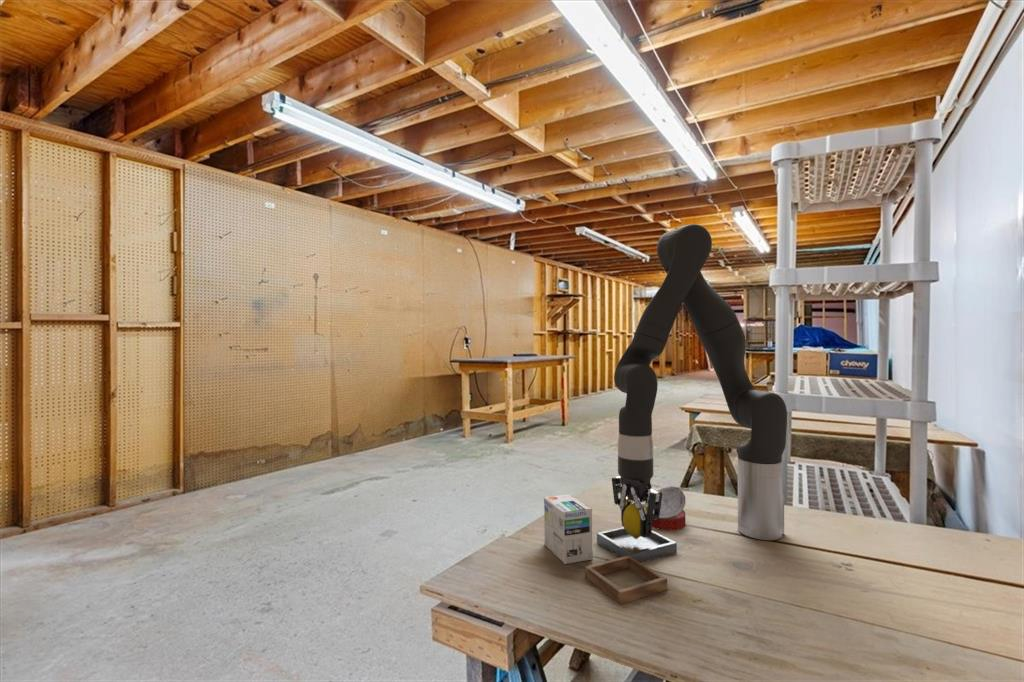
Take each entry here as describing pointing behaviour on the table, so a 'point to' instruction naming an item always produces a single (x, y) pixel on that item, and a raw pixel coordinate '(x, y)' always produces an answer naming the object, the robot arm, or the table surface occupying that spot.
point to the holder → (631, 593)
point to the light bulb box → (568, 528)
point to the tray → (636, 544)
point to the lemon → (632, 520)
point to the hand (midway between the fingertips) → (635, 530)
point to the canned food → (671, 509)
